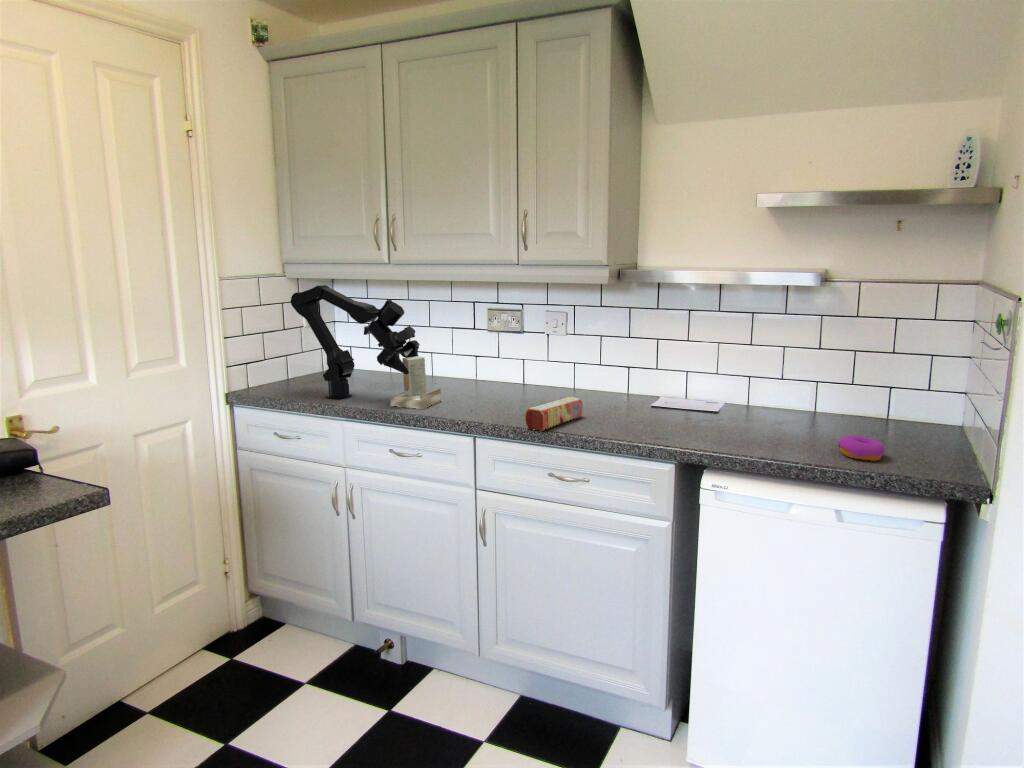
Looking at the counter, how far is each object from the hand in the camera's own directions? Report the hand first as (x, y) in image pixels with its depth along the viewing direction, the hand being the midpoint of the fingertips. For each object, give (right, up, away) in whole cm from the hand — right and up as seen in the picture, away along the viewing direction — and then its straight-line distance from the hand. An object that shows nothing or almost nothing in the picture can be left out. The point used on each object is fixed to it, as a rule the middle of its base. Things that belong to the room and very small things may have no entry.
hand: (415, 371), depth 226 cm
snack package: (+44, -16, -23) cm, 52 cm away
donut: (+116, -22, -55) cm, 131 cm away
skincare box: (0, -8, +2) cm, 8 cm away
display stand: (0, -11, +2) cm, 11 cm away
